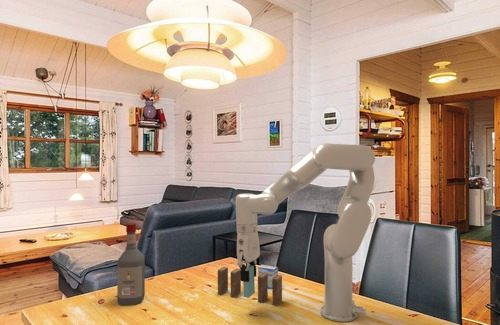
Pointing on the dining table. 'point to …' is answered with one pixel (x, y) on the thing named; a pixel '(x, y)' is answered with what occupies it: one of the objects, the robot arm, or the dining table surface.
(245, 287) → the domino
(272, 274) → the medicine box
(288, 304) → the dining table surface
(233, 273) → the domino
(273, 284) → the domino
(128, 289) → the liquor
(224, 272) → the domino
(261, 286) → the domino
